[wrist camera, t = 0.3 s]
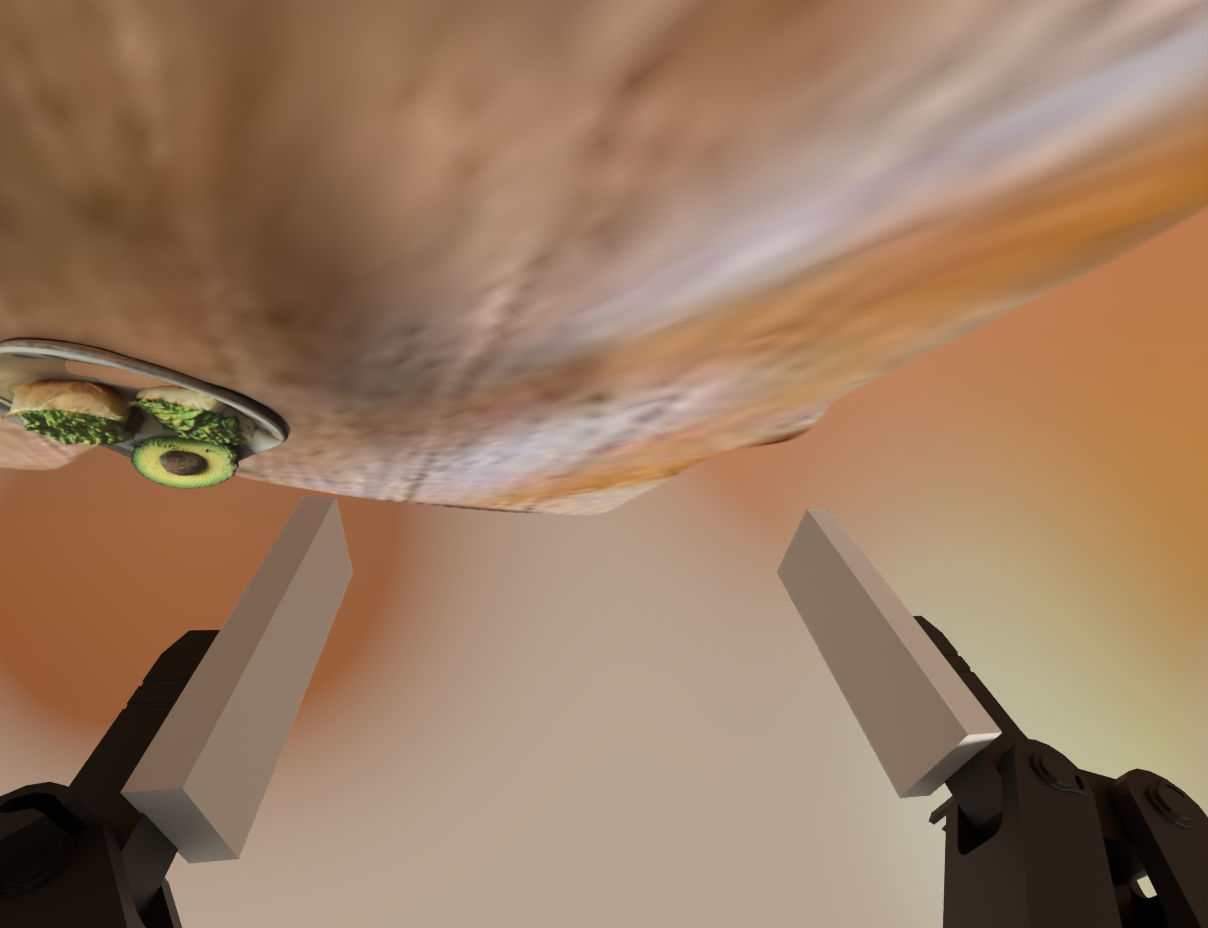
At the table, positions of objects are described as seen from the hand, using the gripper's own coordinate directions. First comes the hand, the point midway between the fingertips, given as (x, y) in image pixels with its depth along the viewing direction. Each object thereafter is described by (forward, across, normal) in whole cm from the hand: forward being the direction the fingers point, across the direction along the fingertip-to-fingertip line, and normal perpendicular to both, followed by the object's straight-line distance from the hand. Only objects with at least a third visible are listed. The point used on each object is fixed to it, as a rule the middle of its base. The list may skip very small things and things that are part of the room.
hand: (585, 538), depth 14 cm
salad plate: (+27, -30, -12) cm, 42 cm away
